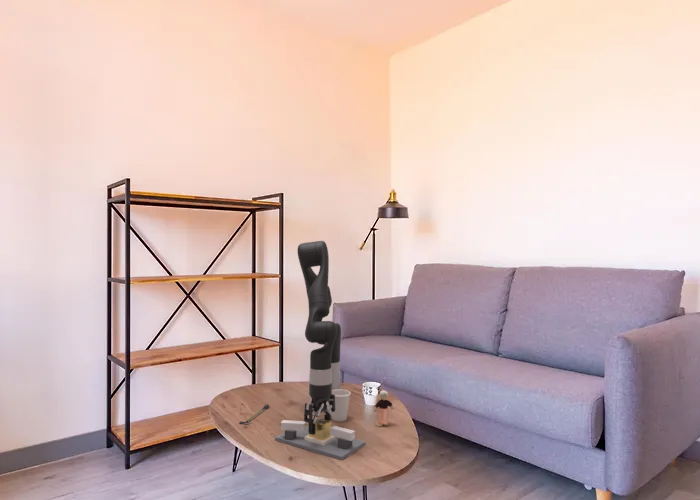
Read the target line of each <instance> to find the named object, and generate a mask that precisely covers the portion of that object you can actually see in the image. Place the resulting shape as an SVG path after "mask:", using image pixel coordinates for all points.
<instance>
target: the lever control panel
mask: <svg viewBox="0 0 700 500" xmlns="http://www.w3.org/2000/svg"><path fill="white" fill-rule="evenodd" d="M280 430H281V431H284V432H283V433H281V434H279V435H276V436H275V437H274V441H277V442H280V443H284V444H285V445H290V446H294V447H296V448H301V449H302V450H303V449H304V450H307V451H309V452H314V453H317V454H320V455H324V456H326V457H330V458H333V459H335V460H336V459H337V460H341V461H343V460H344V459H347V458H348V457H349V456H350V455H353V454H354V453H355V452H357V451H358V450H360V449H361V448H363V447H364V446H366V441H365V440H361V439H359V438H356V431H355V430H353V429H348V428H345V427H341V426H337V425H333V426H331V428H330V435H331V436H330V437H329V438H327V439H325V440H319V439H316V438H312V437H309V425H307V422H304V420H303V421H302V420H301V421H300V420H286V419H283V420H281V422H280Z"/></svg>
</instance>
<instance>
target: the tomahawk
mask: <svg viewBox="0 0 700 500" xmlns="http://www.w3.org/2000/svg"><path fill="white" fill-rule="evenodd" d="M269 407H270V404H268V403H267V404H265V405H264V406H263V407H262V408H261V409H259V410H258V411H257V412H256V413H254V414H253V415H252V416H250V417H249V418H248V419H247V420H246V421H240V422H238V424H239V425H243V424H244V426H250V424H253V422H252V421H253V420H254V419H255V418H257V417H258V416H260V415H261V414H262V413H264V412H265V411H266V410H267V409H268V408H269Z"/></svg>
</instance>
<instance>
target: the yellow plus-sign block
mask: <svg viewBox="0 0 700 500" xmlns="http://www.w3.org/2000/svg"><path fill="white" fill-rule="evenodd" d="M315 423H316V433H315V434H314V435H312V434H309V437H312V438H316V439H319V440H325V439H327V438H329V437H330V436H331V435H330V428H331V427H332V420H331V421H329V420H325V419H324V418H319V417H317V419H316V422H315Z"/></svg>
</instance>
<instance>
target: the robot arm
mask: <svg viewBox="0 0 700 500" xmlns="http://www.w3.org/2000/svg"><path fill="white" fill-rule="evenodd" d="M297 258H298V263H299V265H300V268H301V272H302V275H303V279H304V284H305V290H306V295H307V300H308V301H307V302H308V319H307V323H306V326H305V330H304V336H305V339H306V340H307V341H308V342H309V343H310V344H311V343H312V344H315V343H317V344H318V345H322V347H319V348H317V349H316V348H315V349H313V350H311V351H310V356H309V366H310V367H309V373H308V377H309V378H308V394H309V396H310V398H311V400H310V402H305V403H304V413H303V421H304V422H306V423H308V426H309V434H312V435H314V434H315V433H316V423H315V422H316V419H317V418H319V416H320V415H321V413H324V417H323V419H325V420H329V421H331V422H332V412H335V395H333V394H332V390H337V389H342V388H341V386H342V385H341V382H342V381H341V379H342V378H341V376H340V375H341V369H340V368H341V342H342V341H341V339H342V328H341V325H340V323H337V322H335V321H332V320H324V321H323V319H324V318H326V317H328V316H329V314H330V309H331V306H332V304H333V303H332V302H333V301H332V300H333V299H332V294H331V288H330V286H329V267H330V264H329V263H330V261H329V259H330V258H329V249H328V246H327V242H325V240H317V241H309V242H302V243H300V244H298V246H297ZM312 267H313V268H315V267H319V271H318V273H317V274H316V273H315V272H314V270H313V268H312ZM331 405H332V408H331Z"/></svg>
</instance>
